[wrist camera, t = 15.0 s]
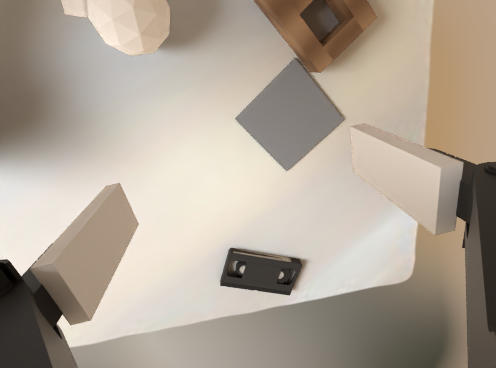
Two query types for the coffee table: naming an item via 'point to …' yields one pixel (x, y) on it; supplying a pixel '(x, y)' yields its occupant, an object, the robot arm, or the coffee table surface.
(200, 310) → the coffee table surface
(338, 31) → the walnut hole block
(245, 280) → the vhs tape
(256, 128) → the slate rubber mat
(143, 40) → the beige faceted ovoid
